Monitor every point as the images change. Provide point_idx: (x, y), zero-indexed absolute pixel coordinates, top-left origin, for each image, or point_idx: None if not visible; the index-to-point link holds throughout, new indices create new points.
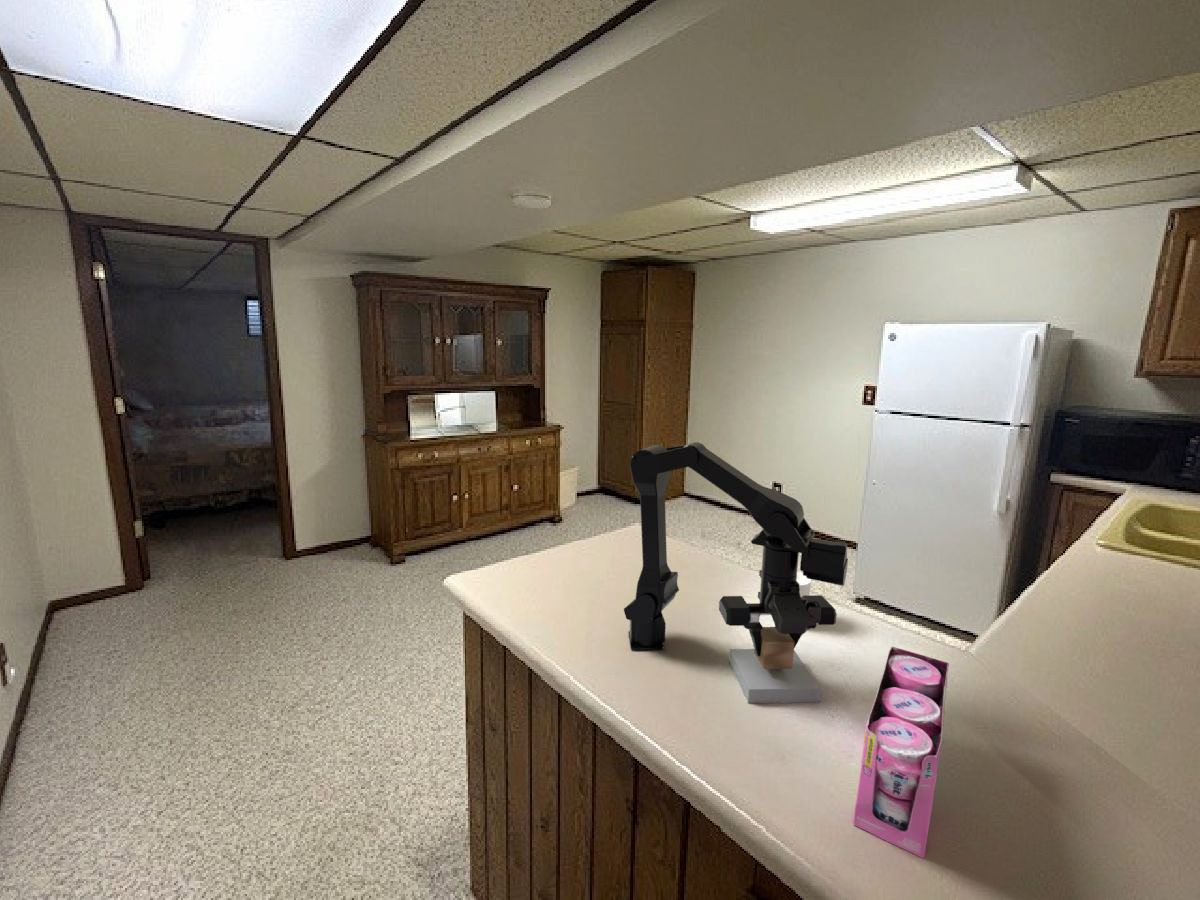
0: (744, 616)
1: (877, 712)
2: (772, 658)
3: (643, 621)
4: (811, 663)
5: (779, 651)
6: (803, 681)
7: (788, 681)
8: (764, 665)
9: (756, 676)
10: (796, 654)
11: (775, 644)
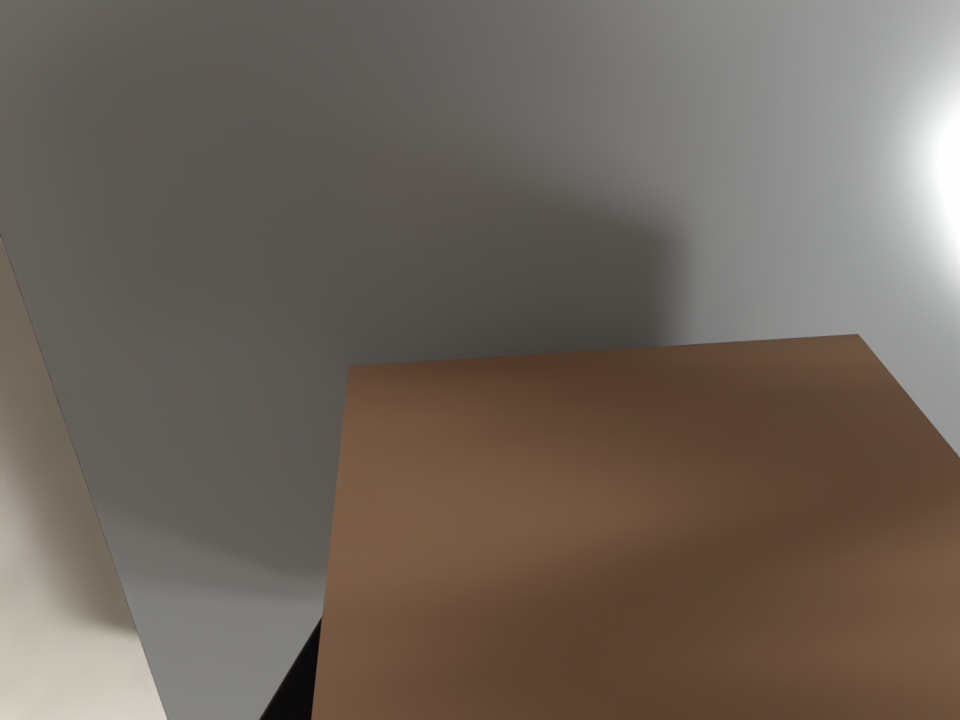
0: None
1: None
2: (780, 470)
3: None
4: (17, 630)
5: (682, 604)
6: (197, 166)
7: (452, 158)
8: (870, 370)
9: (905, 260)
10: (170, 700)
11: None
